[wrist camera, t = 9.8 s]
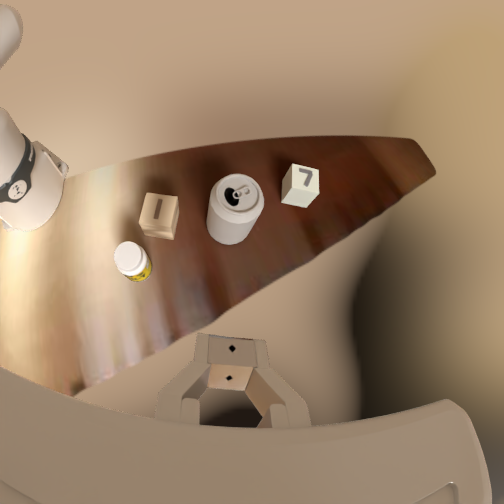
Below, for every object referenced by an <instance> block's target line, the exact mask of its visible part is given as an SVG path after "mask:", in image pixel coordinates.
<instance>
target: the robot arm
mask: <svg viewBox="0 0 504 504" xmlns="http://www.w3.org/2000/svg"><path fill="white" fill-rule="evenodd" d="M22 34H23V23H22V19H21V16H20V14H19V13H18V11H17V10H16V9H15V8H13V7H11V6H8V5H2V4H0V69H1V68H2V67H3V66H4V64H5V63H6V62H7V61H8V60H9V58H10V57H11V56H12V55H13V54H14V52H15V51H16V50H17V49H18V47H19V46H20V43H21V39H22ZM60 166H61V167H60ZM59 167H60V168H59ZM68 169H69V167H68V166H67V164H65V163H64V162H63V161H62V160H61V159H59V158H58V157H57V156H56V155H54V154H53V153H52V152H50V151H49V150H48V149H47V148H46V147H44V146H43V145H42V144H41V143H39V142H38V141H35V142H30V140H29V139H28V138H27V137H26V136H25V135H24V134H22V133H20V131H19V129H18V128H17V126H16V125H15V123H14V122H13V120H12V118H11V117H10V115H9V114H8V112H7V111H6V110H5V109H3V108H0V218H1V219H2V222H3V227H4V229H5V230H6V231H12V230H15V229H17V230H21V231H32V230H35V229H37V228H39V227H40V226H42V225H43V224H44V223H45V222H46V221H47V220H48V219H49V218H50V217H51V216H52V214H53V213H54V212H55V210H56V208H57V206H58V204H59V202H60V199H61V196H62V191H63V182H64V179H65V177H66V175H67V172H68ZM207 388H217V389H230V390H240V391H245V393H246V394H247V396H248V397H249V398H250V400H251V401H252V402H253V404H254V405H255V407H256V408H257V409H258V411H259V412H260V414H261V415H262V416H263V419H262V420H261V422H260V423H259V425H258V426H257V428H236V427H218V426H206V425H199V409H200V402H199V401H198V399H199V398H200V397H201V395H202V394H203V393H204V392H205V391H206V389H207ZM491 493H492V492H491V485H490V479H489V475H488V470H487V466H486V462H485V459H484V455H483V452H482V449H481V446H480V443H479V440H478V437H477V435H476V432H475V430H474V427H473V425H472V423H471V420H470V418H469V417H468V415H467V413H466V412H465V411H464V410H463V409H462V408H461V407H459V406H458V405H457V404H455V403H454V402H452V401H451V400H448V399H445V400H441V401H438V402H435V403H431V404H428V405H425V406H421V407H418V408H414V409H411V410H407V411H402V412H398V413H394V414H390V415H385V416H380V417H375V418H370V419H364V420H359V421H352V422H345V423H338V424H329V425H319V426H312V425H311V420H310V416H309V412H308V407H307V403H306V402H305V401H304V400H303V399H302V398H301V397H300V396H299V395H298V394H297V393H296V392H295V391H294V390H293V389H292V388H291V387H290V386H289V385H288V384H287V383H286V382H285V381H284V379H283V378H281V376H280V375H279V374H278V373H277V372H276V371H275V370H274V369H270V364H269V358H268V352H267V346H266V341H265V340H256V339H254V340H253V339H245V338H234V337H224V336H217V335H210V334H203V333H197V337H196V346H195V354H194V362H192V361H191V362H190V363H189V364H188V365H187V366H186V367H185V368H184V369H182V370H181V371H180V372H179V373H178V374H177V375H176V376H175V377H174V378H173V379H172V380H171V381H170V382H169V383H168V384H167V385H166V386H165V387H164V388H163V389H162V390H161V391H160V392H159V393H158V398H157V405H156V411H155V417H154V418H148V417H144V416H139V415H135V414H130V413H126V412H122V411H117V410H114V409H109V408H106V407H103V406H99V405H95V404H92V403H89V402H86V401H83V400H80V399H77V398H74V397H71V396H68V395H65V394H62V393H60V392H57V391H54V390H52V389H49V388H47V387H44V386H42V385H40V384H37V383H35V382H33V381H31V380H28V379H26V378H24V377H22V376H20V375H18V374H16V373H14V372H12V371H10V370H8V369H6V368H4V367H2V366H0V504H492V494H491Z"/></svg>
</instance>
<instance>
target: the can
mask: <svg viewBox="0 0 504 504" xmlns="http://www.w3.org/2000/svg"><path fill="white" fill-rule="evenodd" d="M263 205H264V198H263V194H262V191H261V188H260V187H259V185H258V184H257V182H256V181H254V180H253V179H252V178H250V177H248V176H246V175H243V174H231V175H228V176H226V177H224V178H222V179H220V180H219V181H218V182H217V183H216V184H215V185H214V187H213V188H212V190H211V195H210V201H209V208H208V215H207V222H206V223H207V229H208V231H209V233H210V235H211V236H212V237H213V238H214V239H215V240H216V241H218V242H220V243H222V244H229V245H230V244H236V243H238V242H240V241H242V240H243V239H244V238H245V237H246V236H247V235H248V233H249V232H250V230H251V228H252V227H253V225H254V223H255V221H256V220H257V218H258V216H259V215H260V213H261V211H262V209H263Z"/></svg>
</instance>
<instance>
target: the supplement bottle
mask: <svg viewBox="0 0 504 504" xmlns="http://www.w3.org/2000/svg"><path fill="white" fill-rule="evenodd" d="M114 260H115V263H116V266H117V268H118V270H119V271H120V272H121V273H122V274H123V275H125V276H126V277H127V278H129V279H130V280H131V281H134V282H142V281H144V280H146V279H147V278H148V277H149V276H150V274H151V272H152V263H151V261H150V259H149V257H148V256H147V254H146V252H145V251H144V249H143V248H142V247H141V246H139V245H137V244H136V243H134V242H131V241H126V242H123V243H121V244H120V245H118V247H117V248H116V250H115V252H114Z"/></svg>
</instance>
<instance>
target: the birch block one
mask: <svg viewBox="0 0 504 504" xmlns="http://www.w3.org/2000/svg"><path fill="white" fill-rule="evenodd" d="M178 215H179V207H178V197H176V196H169V195H161V194H154V193H146V196H145V200H144V204H143V208H142V211H141V215H140V219H139V224H140V226H141V228H142V230H143V232H144V234H145V235H146V236H152V237H159V238H166V239H172V240H174V235H175V230H176V225H177V220H178Z"/></svg>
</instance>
